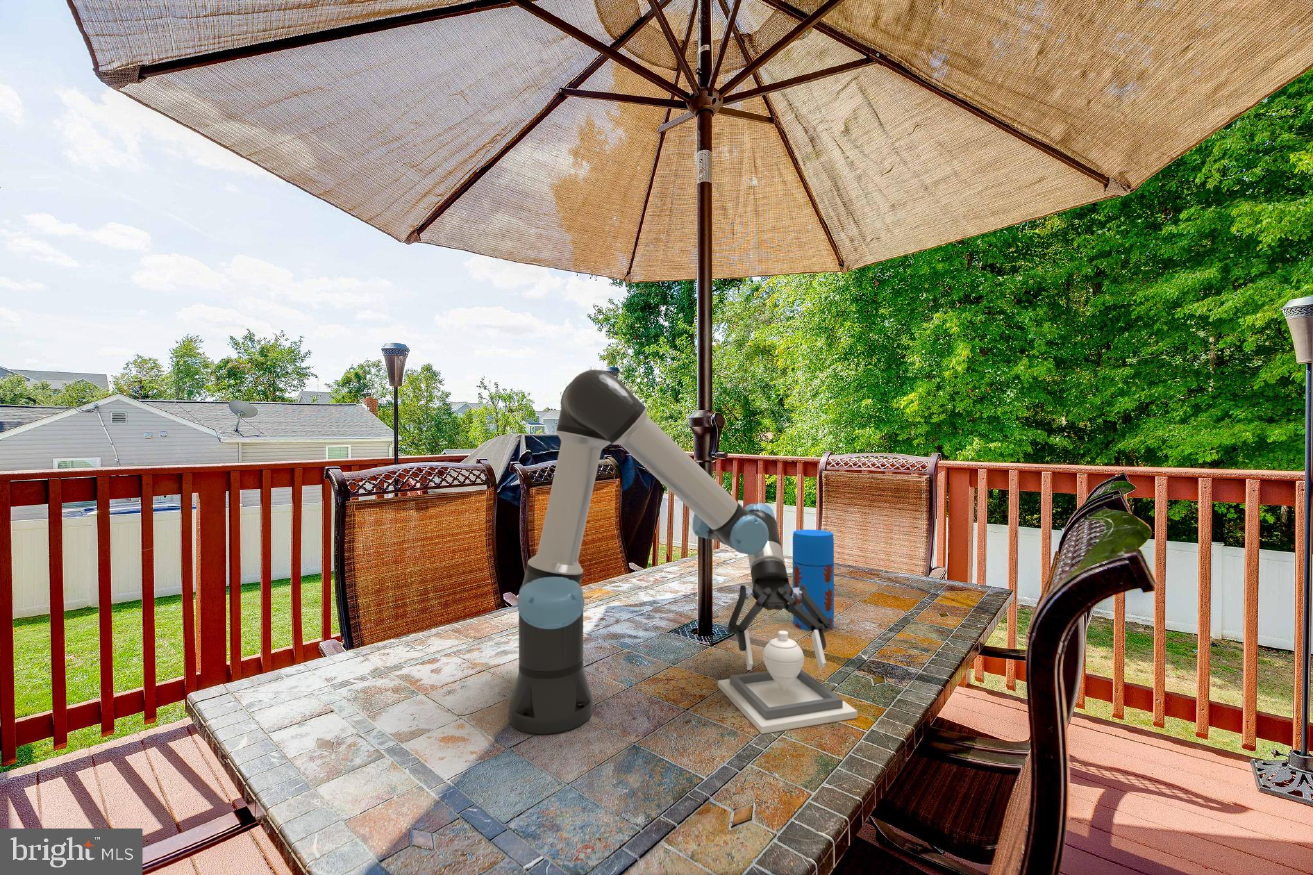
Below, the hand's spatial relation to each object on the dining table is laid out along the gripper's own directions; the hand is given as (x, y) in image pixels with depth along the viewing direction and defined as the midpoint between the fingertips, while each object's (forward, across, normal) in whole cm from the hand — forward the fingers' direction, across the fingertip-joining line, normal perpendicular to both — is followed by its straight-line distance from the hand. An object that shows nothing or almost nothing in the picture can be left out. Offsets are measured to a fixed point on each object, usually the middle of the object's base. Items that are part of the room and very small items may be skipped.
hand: (786, 666), depth 103 cm
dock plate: (+4, 0, -7) cm, 8 cm away
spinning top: (+3, 0, -6) cm, 7 cm away
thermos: (-27, -19, -38) cm, 50 cm away
